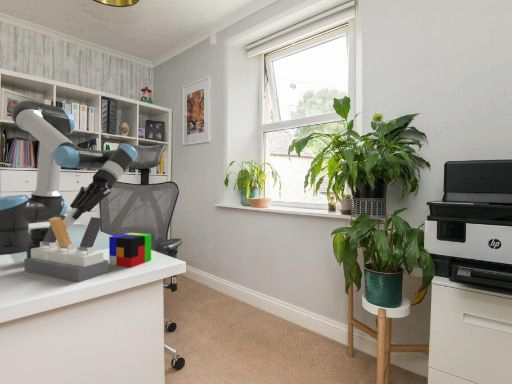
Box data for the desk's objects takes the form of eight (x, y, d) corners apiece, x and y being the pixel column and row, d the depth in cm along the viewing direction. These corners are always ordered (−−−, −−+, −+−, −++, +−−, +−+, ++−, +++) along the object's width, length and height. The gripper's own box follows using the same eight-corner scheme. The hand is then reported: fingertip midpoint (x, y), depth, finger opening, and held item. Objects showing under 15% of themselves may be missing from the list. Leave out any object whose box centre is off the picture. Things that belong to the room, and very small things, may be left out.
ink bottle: (39, 266, 98) (39, 231, 98) (19, 264, 100) (18, 230, 100) (63, 258, 108) (63, 227, 108) (44, 257, 110) (44, 226, 109)
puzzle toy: (109, 264, 101) (109, 237, 101) (130, 258, 110) (130, 232, 110) (131, 267, 98) (131, 239, 97) (151, 260, 107) (151, 234, 107)
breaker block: (56, 263, 102) (55, 213, 101) (108, 272, 92) (108, 217, 92) (24, 271, 92) (23, 216, 92) (78, 282, 83) (78, 221, 82)
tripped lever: (66, 246, 94) (54, 216, 90) (73, 246, 92) (61, 217, 89) (60, 249, 92) (48, 219, 88) (67, 250, 91) (54, 220, 87)
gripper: (126, 183, 106) (86, 234, 91) (101, 182, 111) (59, 231, 96) (115, 168, 101) (70, 220, 86) (89, 168, 106) (42, 217, 91)
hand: (64, 226), depth 91 cm, fingers closed
